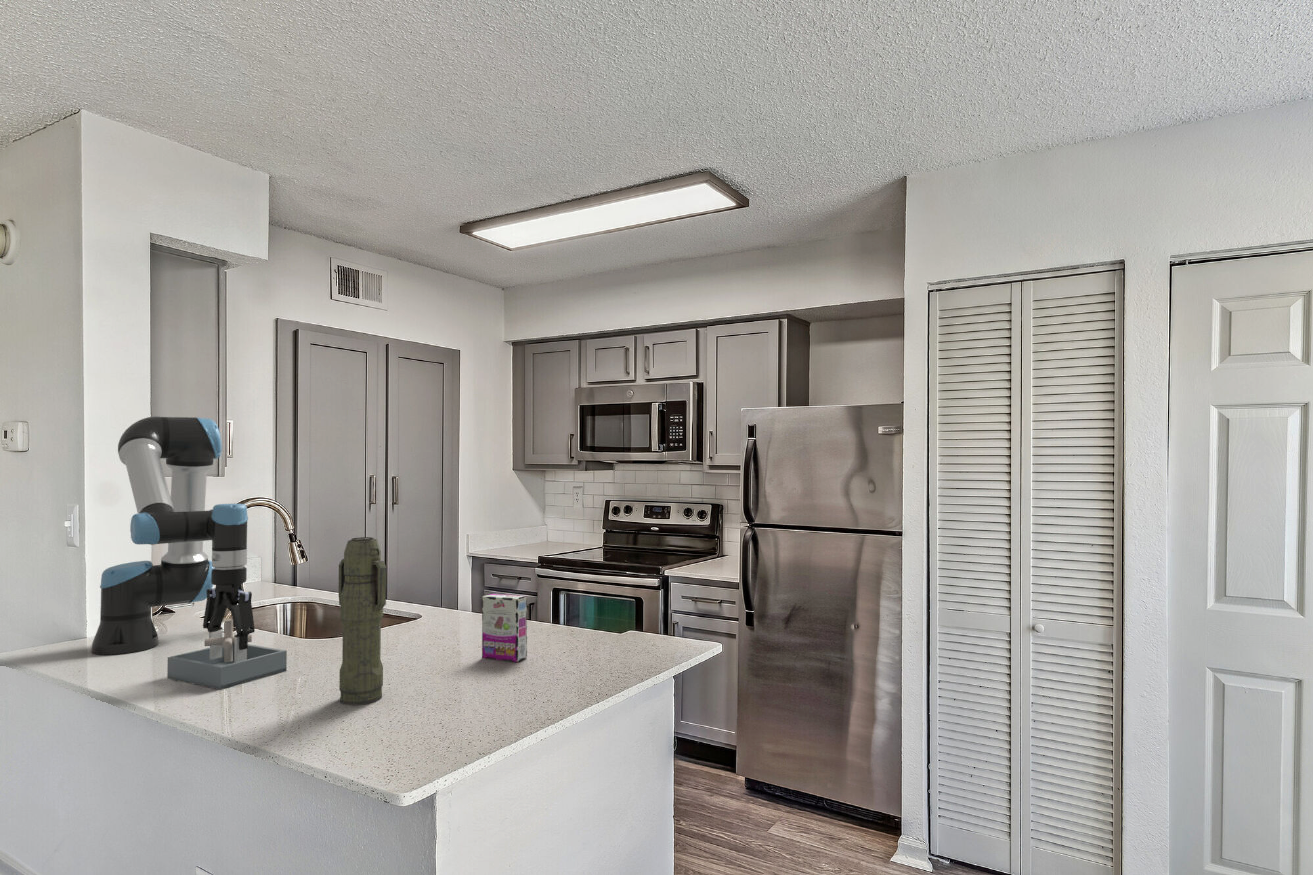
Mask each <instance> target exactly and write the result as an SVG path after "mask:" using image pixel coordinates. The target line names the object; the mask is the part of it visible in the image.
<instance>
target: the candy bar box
mask: <svg viewBox="0 0 1313 875" xmlns="http://www.w3.org/2000/svg"><path fill="white" fill-rule="evenodd" d="M481 599H482V600H481V607H482V608H481V610H482V613H481V614H482V615H481V616H482V617H481V619H482V620H481V625H482V626H481V627H482V630H481V634H482V635H481V643H482V644H481V658H482V659H483V658H485V660H492V661H493V660H494V661H501V660H503V662H513V663H518V662H521V661H523V660H526V659H527V657H528V647H527V644H528V639H527V638H528V636H527V635H528V628H527V627H528V626H527V625H528V624H527V623H528V621H527V620H528V613H527V612H528V611H527V610H528V596H527V595H516V594H503V593H502V594H501V593H489V594H487V595H482V597H481ZM525 658H526V659H525Z"/></svg>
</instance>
